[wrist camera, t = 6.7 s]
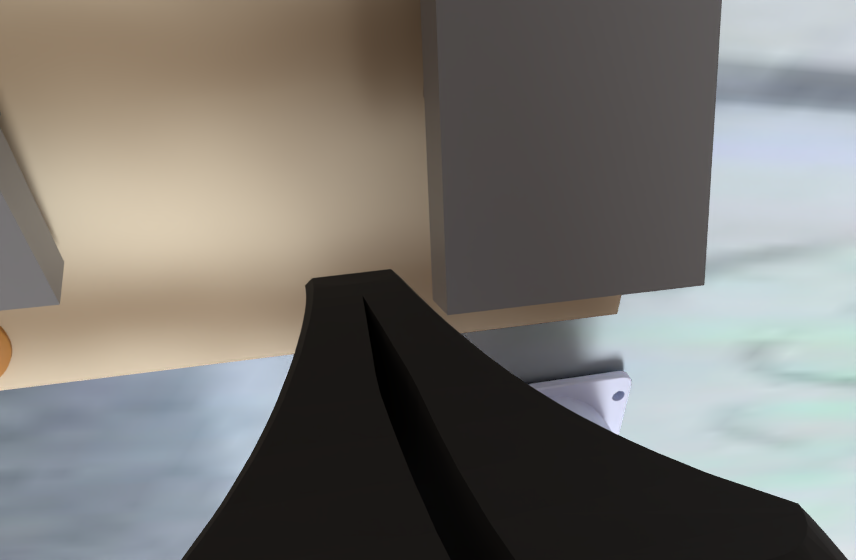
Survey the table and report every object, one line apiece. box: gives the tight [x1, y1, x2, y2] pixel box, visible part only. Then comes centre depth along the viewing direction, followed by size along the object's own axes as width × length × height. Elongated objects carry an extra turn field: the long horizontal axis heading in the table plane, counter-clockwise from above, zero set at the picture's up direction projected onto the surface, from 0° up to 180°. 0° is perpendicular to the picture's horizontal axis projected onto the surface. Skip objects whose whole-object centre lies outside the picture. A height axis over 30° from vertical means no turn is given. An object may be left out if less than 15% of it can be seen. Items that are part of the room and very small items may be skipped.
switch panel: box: [0, 0, 621, 391], centre depth 16 cm, size 16×22×5 cm
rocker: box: [420, 0, 722, 315], centre depth 14 cm, size 9×6×1 cm, turn 177°
